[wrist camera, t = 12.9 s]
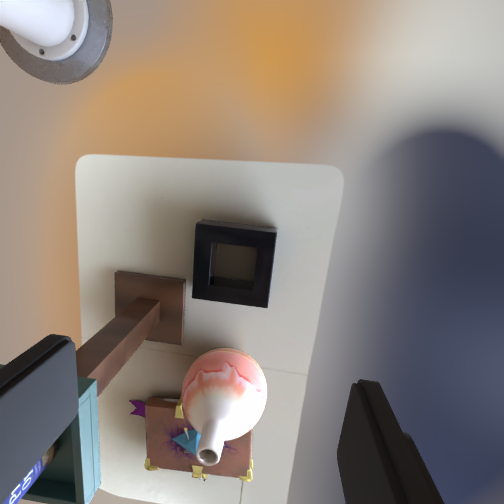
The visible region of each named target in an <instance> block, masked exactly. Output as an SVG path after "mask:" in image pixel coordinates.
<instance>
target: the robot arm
mask: <svg viewBox="0 0 504 504" xmlns="http://www.w3.org/2000/svg"><path fill="white" fill-rule="evenodd" d="M88 20H89V14H88V5H87V1H86V0H0V25H1V26H3V27H4V28H6V29H8V30H10V32H11V34H12V35H13V37H14V38H15V40H16V41H17V42H18V43H19V44H20V46H21V47H22V48H24V49H25V50H26V51H28V52H29V53H31V54H33V55H35V56H37V57H39V58H41V59H44V60H50V61H58V60H62V59H66V58H67V57H69V56H71V55H73V54H74V53H75V52H76V51H77V50H78V49H79V47H80V46H81V44H82V43H83V41H84V38H85V36H86V33H87V29H88ZM78 409H79V399H78V383H77V367H76V350H75V343H74V342H72V340H71V338H70V337H68V336H62V335H55V334H51V335H49V336H47V337H45V338H44V339H43V340H41V341H40V342H38V343H37V344H35V345H34V346H33V347H31V348H30V349H28V350H27V351H25V352H24V353H22V354H21V355H19V356H18V357H17V358H15V359H14V360H12V361H11V362H9V363H8V364H7V365H5V366H4V367H2V368H1V369H0V504H3V503H4V501H5V500H6V499H7V498H8V497H9V495H10V494H11V493H12V492H13V491H14V490H15V488H16V487H17V486H18V485H19V484H20V482H21V481H22V480H23V479H24V478H25V476H26V475H27V474H28V473H29V472H30V471H31V469H32V468H33V467H34V466H35V465H36V463H37V462H38V461H39V460H40V459H41V458H42V456H43V455H44V454H45V453H46V452H47V450H48V449H49V448H50V447H51V446H52V444H53V443H54V442H55V441H56V440H57V439H58V437H59V436H60V435H61V434H62V433H63V431H64V430H65V429H66V428H67V427H68V426H69V424H70V423H71V422H72V421H73V420H74V418H75V417H76V415H77V413H78ZM337 461H338V467H339V472H340V477H341V482H342V487H343V492H344V497H345V502H346V504H444V502H443V500H442V498H441V496H440V494H439V492H438V490H437V488H436V486H435V484H434V482H433V480H432V478H431V476H430V474H429V472H428V470H427V468H426V466H425V464H424V462H423V460H422V458H421V456H420V454H419V452H418V450H417V448H416V445H415V444H414V441H413V440H412V438H411V437H410V435H409V434H408V433H407V432H402V430H401V428H400V426H399V424H398V422H397V419H396V417H395V415H394V413H393V411H392V409H391V407H390V405H389V402H388V400H387V398H386V396H385V394H384V392H383V390H382V388H381V385H380V384H379V383H378V382H375V381H368V380H362V379H360V380H359V381H358V383H357V384H356V383H353V384H352V386H351V390H350V395H349V400H348V404H347V408H346V413H345V417H344V422H343V426H342V431H341V435H340V440H339V444H338V449H337Z"/></svg>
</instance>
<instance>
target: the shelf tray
mask: <svg viewBox="0 0 504 504" xmlns="http://www.w3.org/2000/svg"><path fill="white" fill-rule="evenodd" d="M4 366H5V365H1V364H0V369H1V368H2V367H4ZM77 383H78V399H79V409H78V413H77V415H76V417H75V418H74V420H73V421H72V422H71V423H70V424H69V426H68V427H67V428H66V429H65V430H64V431H63V433H62V434H61V435H60V436H59V437H58V440H59V446H58V451H57V454H56V456H55V457H54V459H53V460H52V461H51V462H50V463H49V465H48V466H47V467H46V468H45V470H44V471H43V472H42V473H41V475H40V476H39V477H38V478H37V479H36V481H35V482H34V483H33V484H32V486H31V487H30V488H29V489H28V491H27V492H26V493H25V494H24V496H23V497H22V498H21V499H25V500H30V501H36V502H41V503H47V504H89V502H90V501H91V499H92V497H93V496H94V493H95V492H96V491H97V489H98V487H99V486H100V484H101V475H100V451H99V428H98V405H97V381H96V379H91V378H85V377H78V376H77Z"/></svg>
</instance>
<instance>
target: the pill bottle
mask: <svg viewBox="0 0 504 504" xmlns="http://www.w3.org/2000/svg"><path fill="white" fill-rule="evenodd" d="M58 446H59V440H58V439H57V440H56V441H55V442H54V443H53V444H52V446H51V447H50V448H49V449H48V450H47V452H46V453H45V454H44V455H43V456H42V458H41V459H40V460H39V461H38V462H37V463H36V465H35V466H34V467H33V468H32V469H31V471H30V472H29V473H28V474H27V475H26V476H25V478H24V479H23V480H22V481H21V482H20V484H19V485H18V486H17V487H16V488H15V490H14V491H13V492H12V493H11V494H10V495H9V497H8V498H7V499H6V500H5V501H4V503H3V504H17V503H18V502H19V500H20V499H21V498H22V497H23V496H24V494H25V493H26V492H27V491H28V489H29V488H30V487H31V486H32V484H33V483H34V482H35V481H36V479H37V478H38V477H39V476H40V475H41V473H42V472H43V471H44V470H45V468H46V467H47V466H48V465H49V463H50V462H51V461H52V460H53V459H54V457H55V456H56V454H57V451H58Z"/></svg>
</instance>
